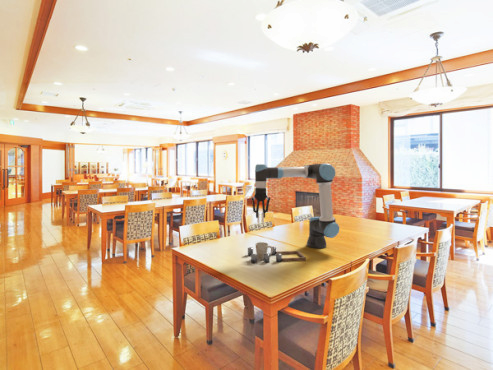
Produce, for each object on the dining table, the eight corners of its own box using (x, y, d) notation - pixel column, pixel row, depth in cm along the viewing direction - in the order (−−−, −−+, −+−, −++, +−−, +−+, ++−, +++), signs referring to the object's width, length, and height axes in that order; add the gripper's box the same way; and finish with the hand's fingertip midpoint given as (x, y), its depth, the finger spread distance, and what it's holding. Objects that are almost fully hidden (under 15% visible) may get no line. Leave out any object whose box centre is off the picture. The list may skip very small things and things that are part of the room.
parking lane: (298, 253, 198) (298, 250, 197) (305, 260, 182) (306, 257, 182) (275, 254, 195) (276, 251, 195) (281, 261, 180) (281, 258, 180)
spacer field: (275, 253, 197) (275, 246, 196) (282, 262, 178) (282, 254, 178) (247, 254, 194) (247, 247, 193) (251, 263, 175) (251, 255, 175)
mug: (253, 257, 188) (253, 242, 187) (270, 255, 192) (270, 241, 192) (258, 261, 180) (258, 246, 179) (275, 259, 184) (275, 244, 184)
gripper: (270, 187, 188) (270, 221, 189) (248, 187, 185) (248, 221, 187) (273, 187, 180) (272, 223, 182) (250, 188, 178) (250, 223, 179)
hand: (260, 222), depth 184 cm, fingers open, 2 cm apart
